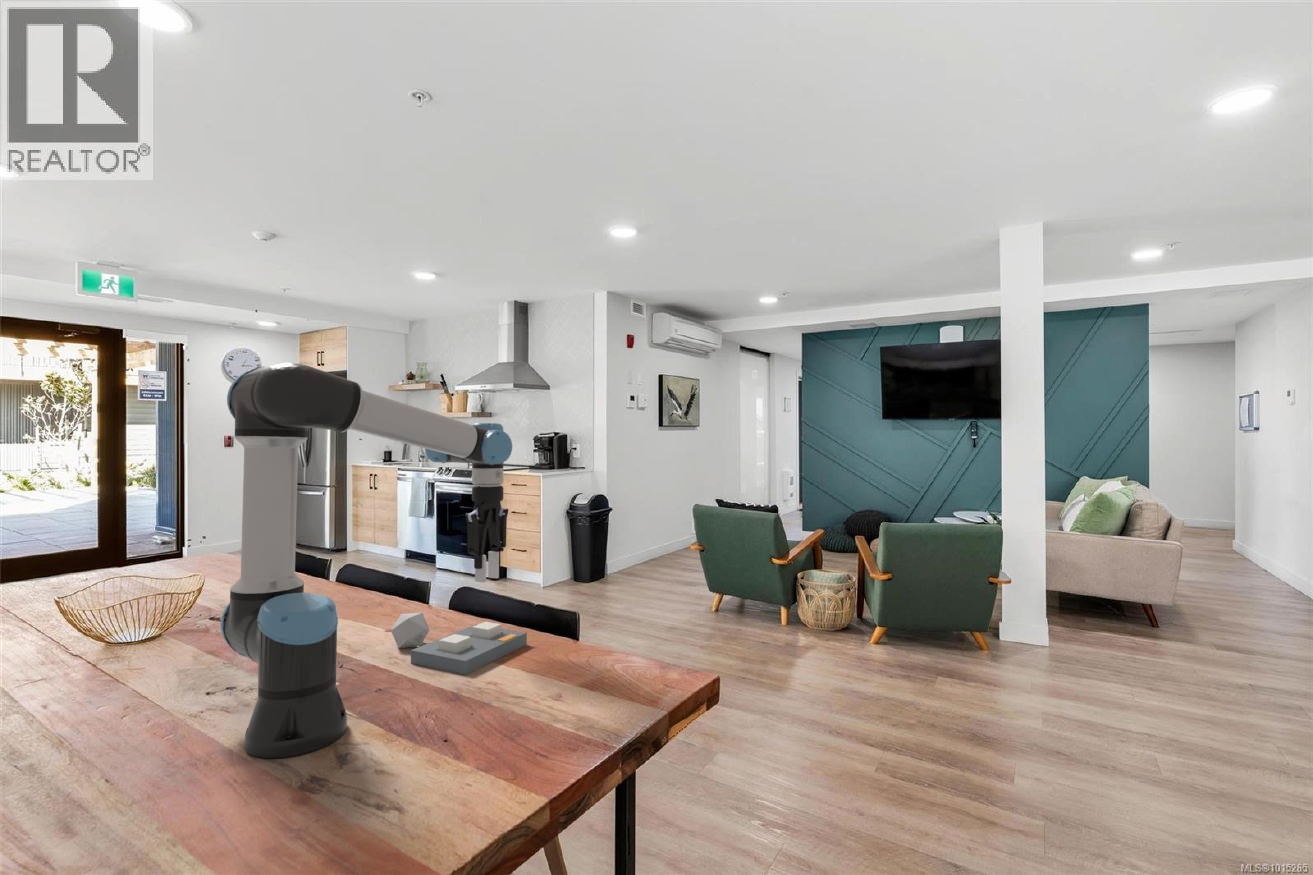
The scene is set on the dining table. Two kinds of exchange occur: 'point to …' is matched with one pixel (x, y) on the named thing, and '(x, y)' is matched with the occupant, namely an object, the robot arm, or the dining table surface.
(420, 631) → the die
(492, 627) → the tagged button
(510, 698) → the dining table surface
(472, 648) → the breaker panel
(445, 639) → the button
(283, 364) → the robot arm
